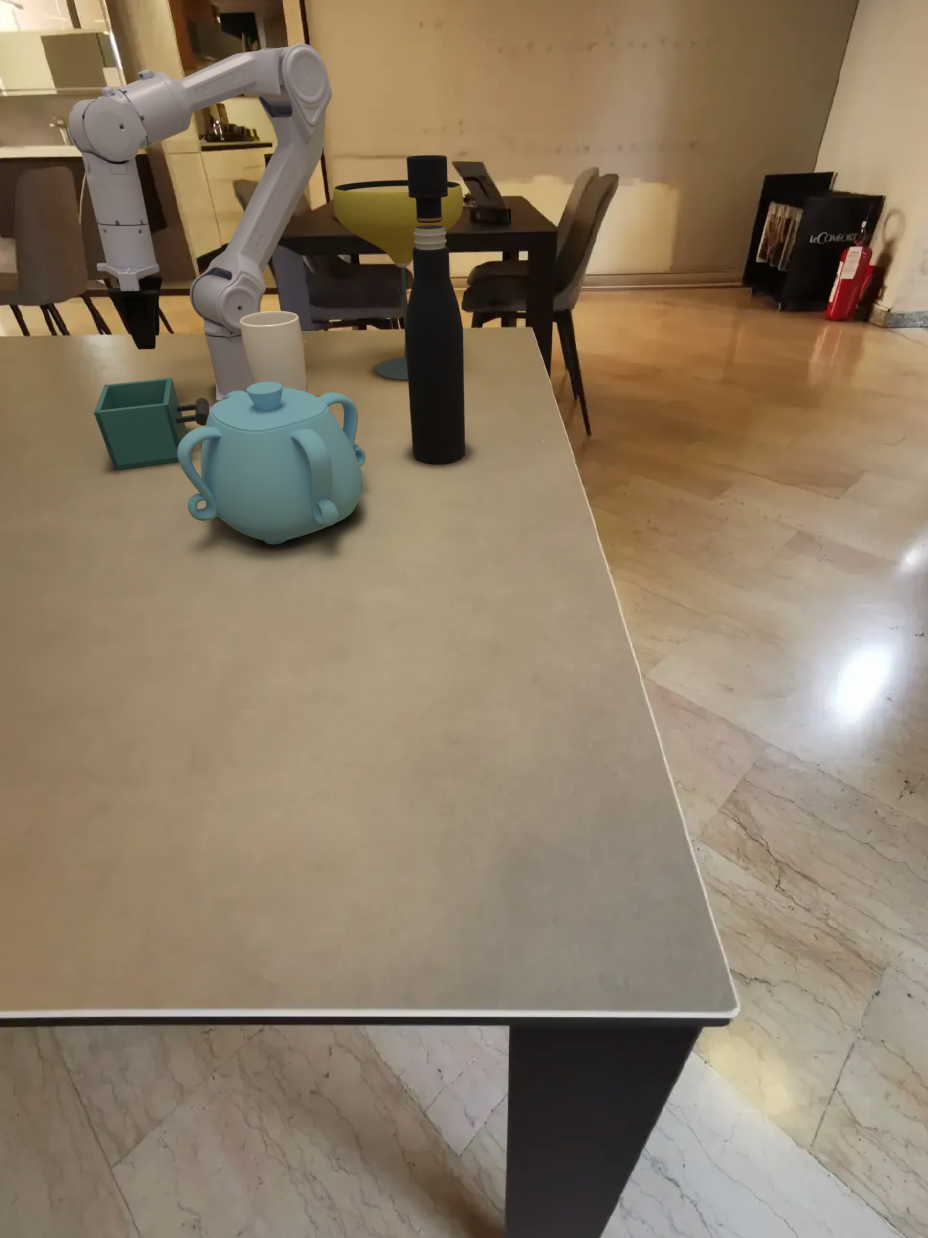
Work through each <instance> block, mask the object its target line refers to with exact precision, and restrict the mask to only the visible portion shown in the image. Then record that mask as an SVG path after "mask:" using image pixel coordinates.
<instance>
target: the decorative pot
mask: <svg viewBox="0 0 928 1238" xmlns="http://www.w3.org/2000/svg"><path fill="white" fill-rule="evenodd" d="M246 390H247V392H248V393H246V392H244V391H233V392H230V393H229V394H227V395H226V396H225V398H224V400H222V401H219V402H217V401H216V402H215V403H214V404H213V405H212V407H210V408H209V415H208V418H207V422H206V425H205V426H200V427H196V428H194V429H192V430H190V431H189V432H188V433H187V434H186V435H185V437H184V438H183V439H182V440H181V442H180V444H179V446H178V450H177V456H178V461H179V462H178V464H179V465H180V468H181V470H182V471H183V473H184V475H185V476H186V478H187V479H188V480H189V481H190V483H191V484H192V486H193V487H194V488H195V489H196V490H197V492H198V493H195V494H192V495H191V496H190V497H189V498H188V501H187V510H188V513H189V515H190V516H191V517H192V518H194V519H195V520H198V521H203V522H205V521H211V520H214V519H215V518H217V516H218V517H219V519H221V520H222V521H223V522H224V523H226V524H227V525H228V526H230V527H231V528H232V529H234V530H235V531H237V532H239V533H241V534H243V535H245V536H247V537H250V538H253V539H257V540H260V541H263V542H264V543H265V544H269V545H278V544H279V545H280V544H283V543H285V542H287V541H288V540H291V539H295V538H299V537H303V536H307V535H310V534H312V533H314V532H317V531H320V530H322V529H325V528H328V527H330V526H333V525H335V524H337V523H339V522H340V521H341V522H342V520H345V519H346V518H347V517H349V516H350V515H351V514H352V513H353V512H354V510H355V509H356V507H357V505H358V503H359V501H360V500H361V497H362V495H363V492H364V480H363V473H362V470H361V467H362V466H363V465H364V464H365V462H366V453H365V449H363V447H362V446H361V445H359V444H357V443H356V436H357V431H358V424H359V423H358V422H359V414H358V409H357V406H356V405H355V403H354V401H353V400H352V399H351V398H350V397H348V396H347V395H345V394H344V393H343V394H342V393H340V392H333V391H332V392H330V391H329V392H325V393H323V394H321V395H320V396H316V395H314V394H312V393H310V392H308V393H307V392H304V391H301V390H297V389H291V388H282V385H281V384H279V383H276V382H259V383H255V384H253V385H251V386H249V387H248V388H247V389H246ZM335 404H340V405H341V406H342V409H343V424H342V425H343V426H341V424H340V423H339V421H338V420H337V418H336V417H335V415H334V413H333V412H332V411H331V410H330V408H329V407H330V406H333V405H335ZM200 443H201V451H200V474H199V472H198V471H197V469H196V468H195V466H194V463H193V461H192V457H191V456H192V451H193V450H194V448H195V447H196V446H197V445H198V444H200ZM203 501H205V507H204V508H201V509H200V508H198V504H199V503H200V502H203Z"/></svg>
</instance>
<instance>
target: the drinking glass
mask: <svg viewBox="0 0 928 1238" xmlns="http://www.w3.org/2000/svg"><path fill="white" fill-rule="evenodd" d="M300 321H301V320H300V317H299V315H298V314H297V313H295V312H291V311H285V310H270V311H269V310H268V311H260V312H259V313H254V314H250V315H247V316H244V317H243V318H241V319H240V328H241V334H242V340H243V345H244V350H245V354H246V358H247V362H248V366H249V369H250V372H251V376H252V379H253V383H254V384H255V383H259V382H276V383H279V384H281V385H282V388H291V389H297V390H301V391H304V392H307V393H309V388H308V373H307V362H306V361H307V360H306V350H305V342H304V337H303V336H304V335H303V332H302V327H301V322H300Z"/></svg>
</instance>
